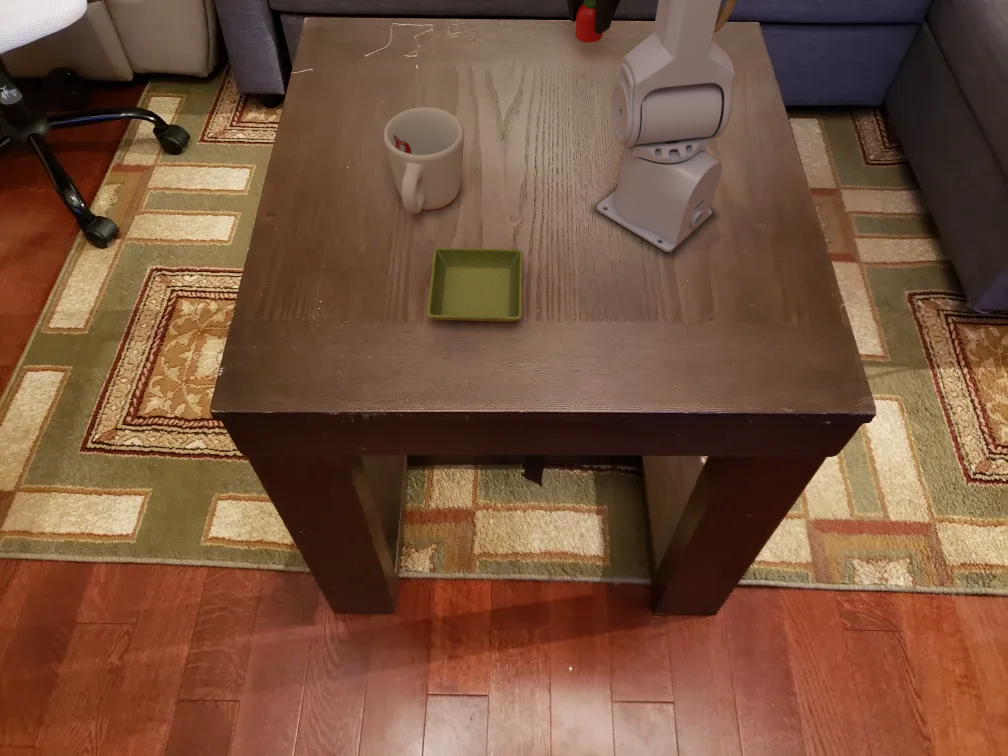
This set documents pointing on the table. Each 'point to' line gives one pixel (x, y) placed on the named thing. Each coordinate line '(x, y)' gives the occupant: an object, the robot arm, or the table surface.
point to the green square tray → (476, 284)
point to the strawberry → (586, 22)
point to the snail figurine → (724, 14)
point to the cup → (425, 156)
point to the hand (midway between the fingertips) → (589, 24)
